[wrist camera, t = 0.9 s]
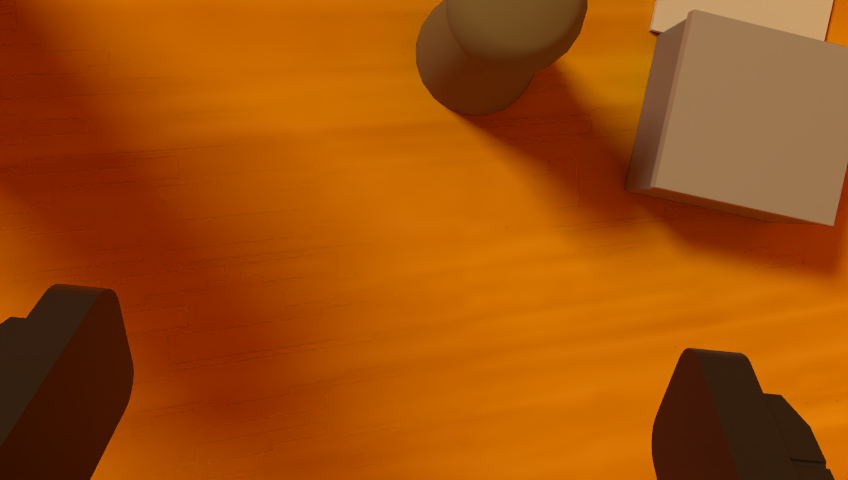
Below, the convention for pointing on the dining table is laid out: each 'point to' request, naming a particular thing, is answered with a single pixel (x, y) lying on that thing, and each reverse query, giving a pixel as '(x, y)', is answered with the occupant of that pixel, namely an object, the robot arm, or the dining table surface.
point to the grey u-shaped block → (745, 110)
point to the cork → (492, 48)
